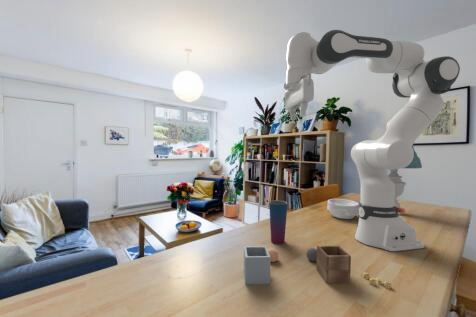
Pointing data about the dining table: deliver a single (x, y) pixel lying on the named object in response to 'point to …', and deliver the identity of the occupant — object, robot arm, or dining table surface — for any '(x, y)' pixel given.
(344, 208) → the white purple floral bowl
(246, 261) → the grey square open box
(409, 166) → the table lamp
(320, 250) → the walnut tube
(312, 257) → the charcoal ball
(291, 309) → the dining table surface
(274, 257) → the terracotta ball
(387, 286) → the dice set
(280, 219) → the cup
